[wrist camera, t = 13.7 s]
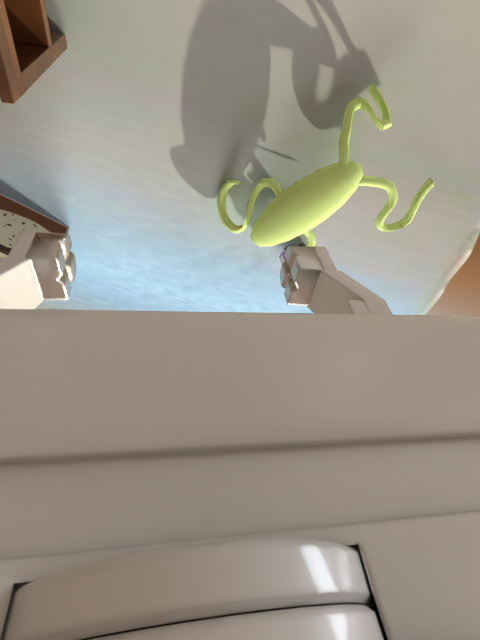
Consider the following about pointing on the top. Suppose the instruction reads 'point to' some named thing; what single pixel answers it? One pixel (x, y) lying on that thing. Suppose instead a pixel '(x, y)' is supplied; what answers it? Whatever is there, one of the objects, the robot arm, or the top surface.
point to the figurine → (320, 191)
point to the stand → (25, 46)
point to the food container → (22, 223)
